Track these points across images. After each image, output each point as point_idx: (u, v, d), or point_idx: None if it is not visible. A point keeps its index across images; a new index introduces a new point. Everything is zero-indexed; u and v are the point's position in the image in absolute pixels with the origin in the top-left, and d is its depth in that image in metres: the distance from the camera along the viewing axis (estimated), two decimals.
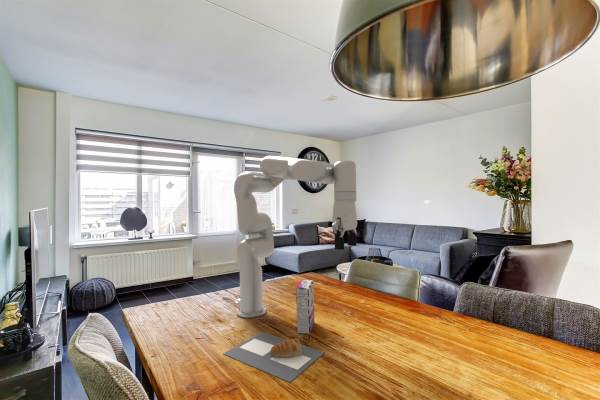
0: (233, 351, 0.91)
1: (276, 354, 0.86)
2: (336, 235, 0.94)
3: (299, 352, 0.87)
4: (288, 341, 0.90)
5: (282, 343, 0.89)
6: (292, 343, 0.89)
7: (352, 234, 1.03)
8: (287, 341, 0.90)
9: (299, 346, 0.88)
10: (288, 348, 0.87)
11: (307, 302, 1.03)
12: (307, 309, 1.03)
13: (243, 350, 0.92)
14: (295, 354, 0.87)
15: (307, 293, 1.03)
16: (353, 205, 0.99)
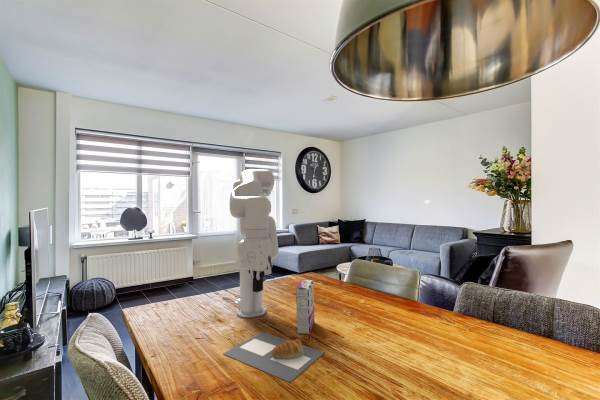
0: (233, 351, 0.91)
1: (278, 356, 0.85)
2: (262, 277, 0.92)
3: (301, 353, 0.87)
4: (289, 342, 0.89)
5: (283, 344, 0.88)
6: (293, 344, 0.88)
7: None
8: (288, 342, 0.89)
9: (300, 347, 0.88)
10: (290, 349, 0.86)
11: (307, 302, 1.03)
12: (307, 309, 1.03)
13: (243, 350, 0.92)
14: (296, 355, 0.86)
15: (307, 293, 1.03)
16: None
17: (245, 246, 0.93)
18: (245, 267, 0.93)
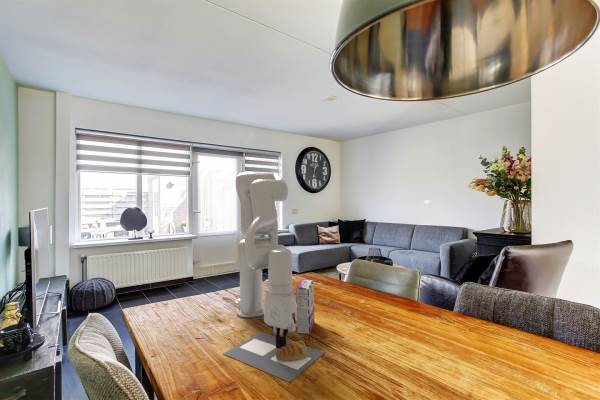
0: (233, 351, 0.91)
1: (283, 358, 0.84)
2: (286, 333, 0.90)
3: (305, 354, 0.86)
4: (293, 344, 0.88)
5: (287, 346, 0.87)
6: (298, 346, 0.87)
7: None
8: (292, 344, 0.88)
9: (305, 348, 0.87)
10: (294, 351, 0.85)
11: (307, 302, 1.03)
12: (307, 309, 1.03)
13: (243, 350, 0.92)
14: (301, 356, 0.85)
15: (307, 293, 1.03)
16: None
17: (268, 301, 0.90)
18: (268, 323, 0.90)
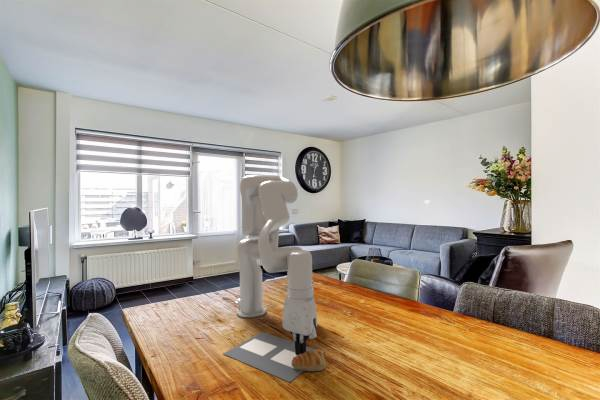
0: (233, 351, 0.91)
1: (298, 367, 0.80)
2: None
3: (323, 366, 0.80)
4: (311, 353, 0.83)
5: (304, 354, 0.82)
6: (315, 355, 0.82)
7: None
8: (310, 353, 0.83)
9: (323, 359, 0.81)
10: (311, 361, 0.80)
11: None
12: None
13: (243, 350, 0.92)
14: (318, 367, 0.80)
15: None
16: None
17: (287, 306, 0.86)
18: (287, 328, 0.86)
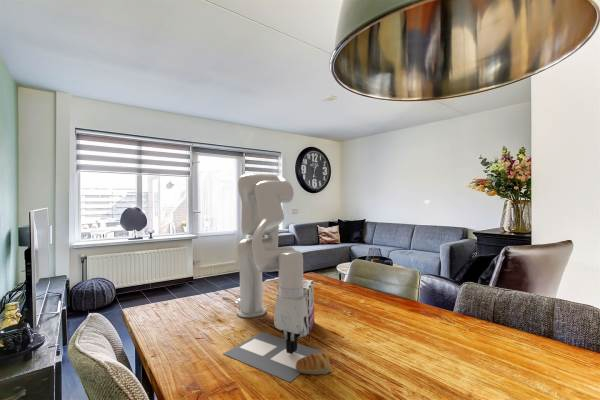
0: (233, 351, 0.91)
1: (303, 370, 0.78)
2: None
3: (327, 369, 0.79)
4: (315, 355, 0.81)
5: (309, 357, 0.81)
6: (320, 358, 0.80)
7: None
8: (314, 355, 0.81)
9: (328, 362, 0.80)
10: (315, 364, 0.78)
11: (307, 302, 1.03)
12: (307, 309, 1.03)
13: (243, 350, 0.92)
14: (322, 370, 0.78)
15: (307, 293, 1.03)
16: None
17: (278, 304, 0.88)
18: (278, 327, 0.88)
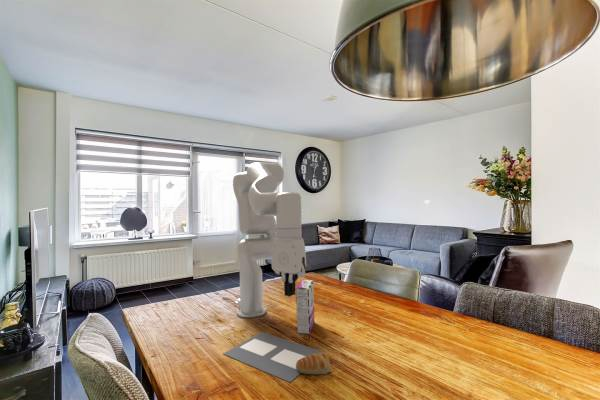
0: (233, 351, 0.91)
1: (303, 370, 0.78)
2: (295, 280, 0.85)
3: (327, 369, 0.79)
4: (315, 355, 0.81)
5: (309, 357, 0.81)
6: (320, 358, 0.80)
7: None
8: (314, 355, 0.81)
9: (328, 362, 0.80)
10: (315, 364, 0.78)
11: (307, 302, 1.03)
12: (307, 309, 1.03)
13: (243, 350, 0.92)
14: (322, 370, 0.78)
15: (307, 293, 1.03)
16: None
17: (276, 246, 0.86)
18: (276, 269, 0.86)
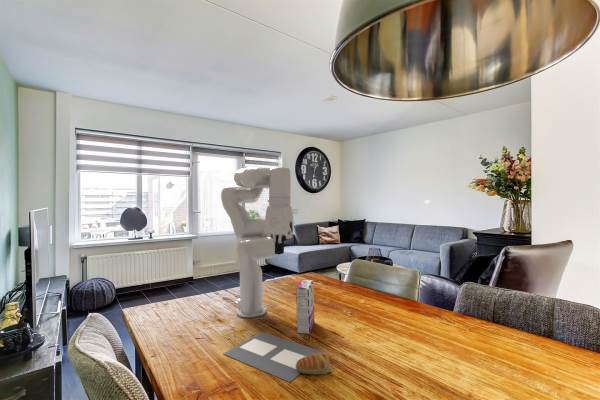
0: (233, 351, 0.91)
1: (303, 370, 0.78)
2: (283, 241, 1.02)
3: (327, 369, 0.79)
4: (315, 355, 0.81)
5: (309, 357, 0.81)
6: (320, 358, 0.80)
7: None
8: (314, 355, 0.81)
9: (328, 362, 0.80)
10: (315, 364, 0.78)
11: (307, 302, 1.03)
12: (307, 309, 1.03)
13: (243, 350, 0.92)
14: (322, 370, 0.78)
15: (307, 293, 1.03)
16: None
17: (268, 213, 1.02)
18: (268, 232, 1.02)
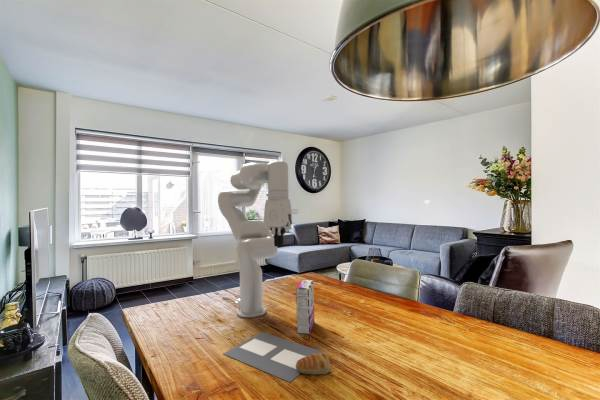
0: (233, 351, 0.91)
1: (303, 370, 0.78)
2: (283, 233, 1.04)
3: (327, 369, 0.79)
4: (315, 355, 0.81)
5: (309, 357, 0.81)
6: (320, 358, 0.80)
7: None
8: (314, 355, 0.81)
9: (328, 362, 0.80)
10: (315, 364, 0.78)
11: (307, 302, 1.03)
12: (307, 309, 1.03)
13: (243, 350, 0.92)
14: (322, 370, 0.78)
15: (307, 293, 1.03)
16: None
17: (267, 206, 1.05)
18: (267, 224, 1.05)
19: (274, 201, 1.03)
